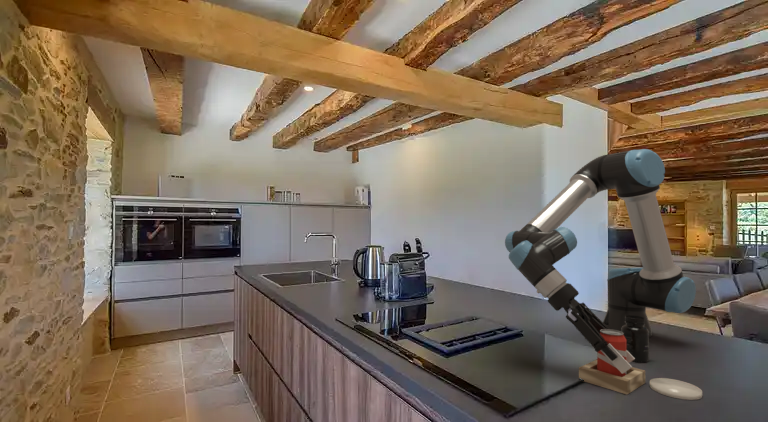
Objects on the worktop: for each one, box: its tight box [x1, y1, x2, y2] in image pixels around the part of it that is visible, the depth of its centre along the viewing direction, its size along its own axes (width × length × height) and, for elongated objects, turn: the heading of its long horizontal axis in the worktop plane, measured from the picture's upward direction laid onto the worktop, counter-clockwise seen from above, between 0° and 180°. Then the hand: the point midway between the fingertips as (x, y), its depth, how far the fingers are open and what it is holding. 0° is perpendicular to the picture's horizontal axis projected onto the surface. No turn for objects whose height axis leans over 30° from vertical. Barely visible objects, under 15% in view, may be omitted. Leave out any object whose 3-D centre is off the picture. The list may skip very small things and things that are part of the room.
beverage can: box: [596, 329, 627, 377], centre depth 101 cm, size 6×6×12 cm
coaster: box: [649, 377, 703, 401], centre depth 95 cm, size 10×10×1 cm
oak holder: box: [578, 359, 646, 395], centre depth 100 cm, size 11×11×3 cm
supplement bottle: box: [621, 315, 650, 363], centre depth 117 cm, size 7×7×12 cm
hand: (628, 365), depth 98 cm, fingers closed on beverage can, 6 cm apart
